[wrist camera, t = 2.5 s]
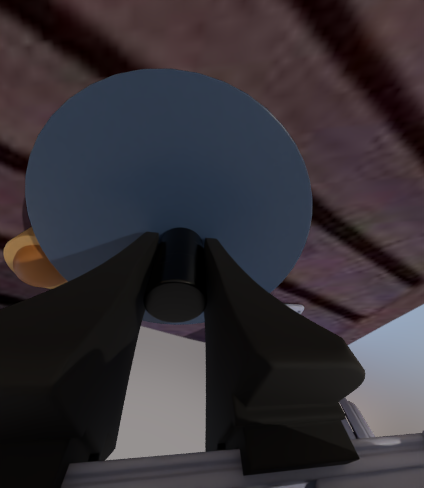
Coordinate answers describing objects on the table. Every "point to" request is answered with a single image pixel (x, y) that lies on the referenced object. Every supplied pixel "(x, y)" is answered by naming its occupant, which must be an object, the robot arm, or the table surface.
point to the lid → (168, 184)
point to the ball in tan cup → (31, 261)
